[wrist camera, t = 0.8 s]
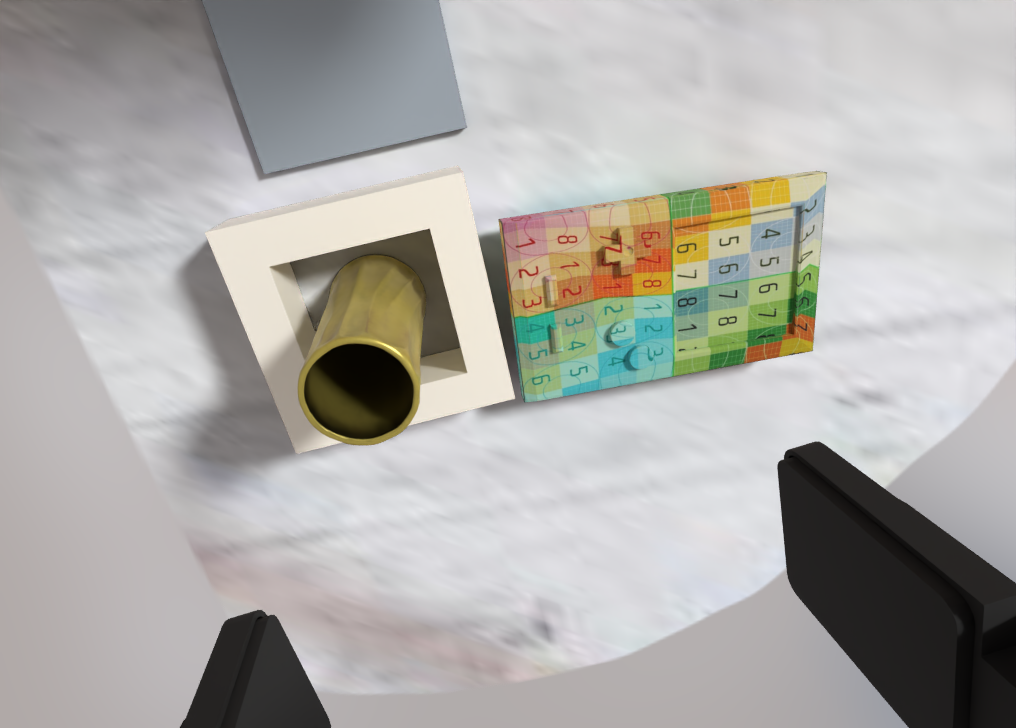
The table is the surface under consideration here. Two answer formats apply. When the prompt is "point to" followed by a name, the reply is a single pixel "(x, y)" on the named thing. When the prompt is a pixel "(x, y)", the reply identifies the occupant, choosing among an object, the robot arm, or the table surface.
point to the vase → (366, 353)
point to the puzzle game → (663, 284)
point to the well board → (347, 223)
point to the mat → (336, 74)
